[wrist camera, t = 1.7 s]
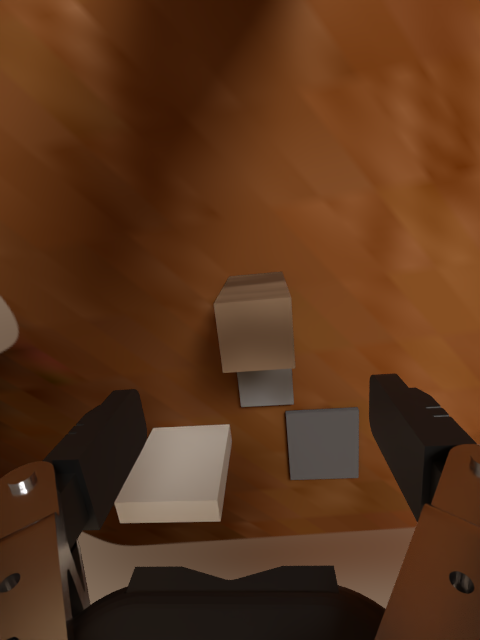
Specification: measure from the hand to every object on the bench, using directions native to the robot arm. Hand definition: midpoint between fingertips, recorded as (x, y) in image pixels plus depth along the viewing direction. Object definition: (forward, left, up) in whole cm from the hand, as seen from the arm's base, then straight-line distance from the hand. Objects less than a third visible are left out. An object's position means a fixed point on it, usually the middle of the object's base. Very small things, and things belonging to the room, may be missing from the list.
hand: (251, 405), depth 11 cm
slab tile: (+12, -7, -14) cm, 20 cm away
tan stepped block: (+3, 0, -14) cm, 15 cm away
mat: (+13, +5, -14) cm, 20 cm away
